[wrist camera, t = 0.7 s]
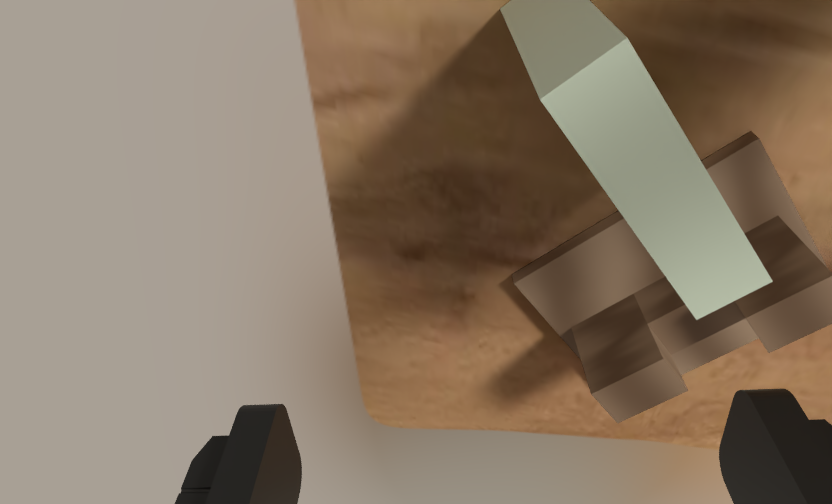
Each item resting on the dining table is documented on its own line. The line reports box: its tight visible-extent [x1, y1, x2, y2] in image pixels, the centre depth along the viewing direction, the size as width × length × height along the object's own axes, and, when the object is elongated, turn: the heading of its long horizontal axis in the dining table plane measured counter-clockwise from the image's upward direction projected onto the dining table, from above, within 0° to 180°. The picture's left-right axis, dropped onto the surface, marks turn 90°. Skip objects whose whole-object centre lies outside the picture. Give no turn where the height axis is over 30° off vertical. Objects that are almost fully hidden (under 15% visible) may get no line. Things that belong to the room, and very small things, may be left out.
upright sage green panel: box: [500, 0, 773, 320], centre depth 28 cm, size 3×12×13 cm, turn 39°
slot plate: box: [512, 131, 832, 423], centre depth 38 cm, size 16×14×7 cm
